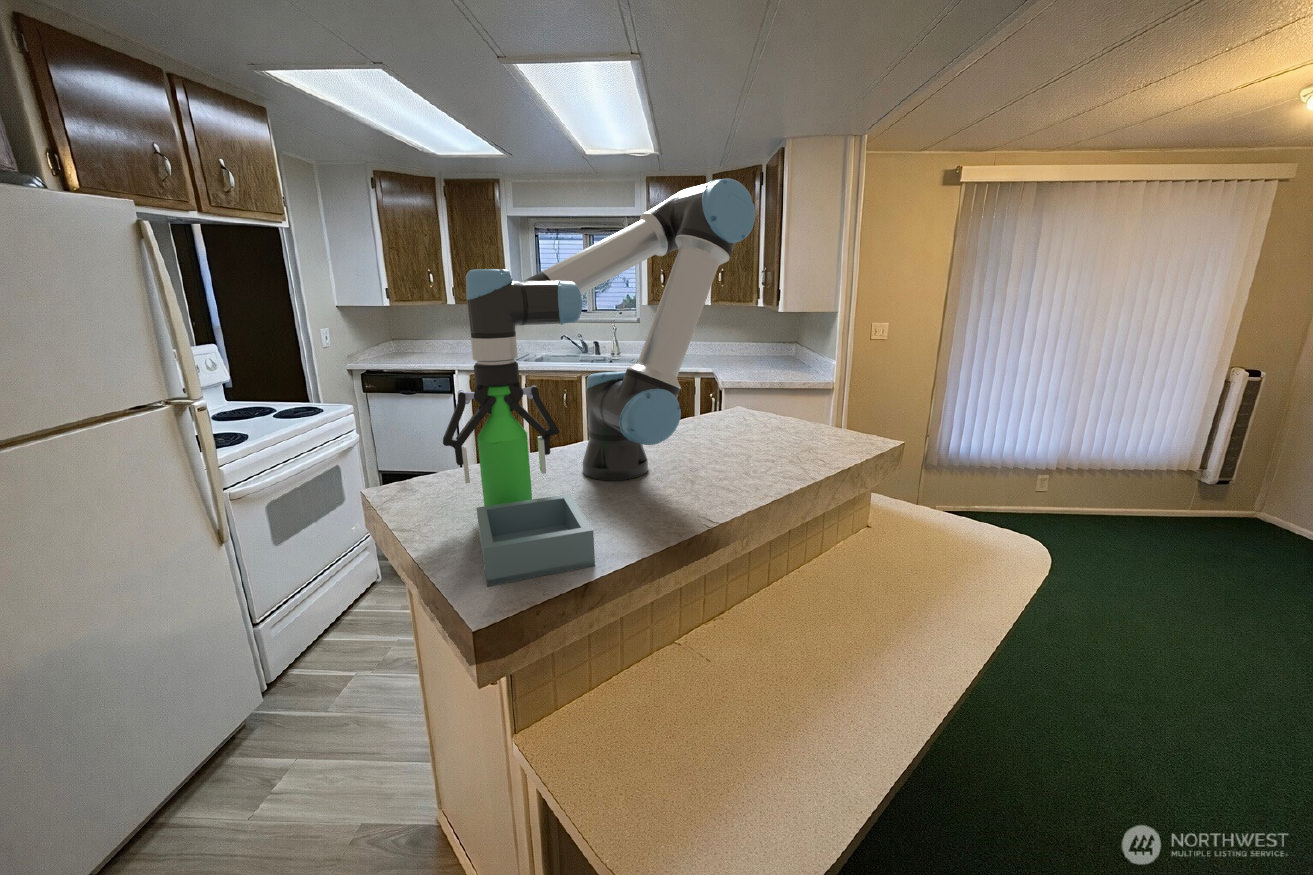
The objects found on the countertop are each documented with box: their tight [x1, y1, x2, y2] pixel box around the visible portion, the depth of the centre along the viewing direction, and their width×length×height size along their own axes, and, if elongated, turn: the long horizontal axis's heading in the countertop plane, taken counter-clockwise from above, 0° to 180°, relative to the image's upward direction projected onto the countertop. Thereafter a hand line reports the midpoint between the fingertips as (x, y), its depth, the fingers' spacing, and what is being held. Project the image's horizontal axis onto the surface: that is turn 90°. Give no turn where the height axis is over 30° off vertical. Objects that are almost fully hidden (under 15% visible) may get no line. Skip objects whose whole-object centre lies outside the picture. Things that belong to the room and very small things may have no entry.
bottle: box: [476, 386, 533, 507], centre depth 100 cm, size 9×9×25 cm
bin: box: [475, 493, 596, 587], centre depth 88 cm, size 16×16×6 cm
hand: (506, 476), depth 101 cm, fingers open, 13 cm apart
